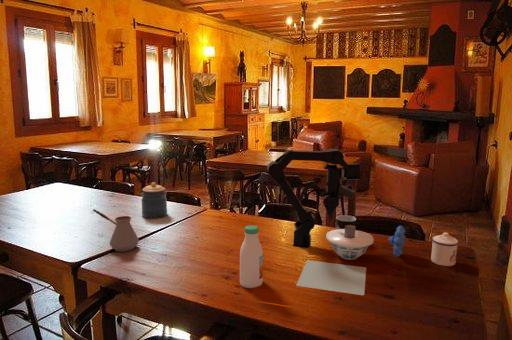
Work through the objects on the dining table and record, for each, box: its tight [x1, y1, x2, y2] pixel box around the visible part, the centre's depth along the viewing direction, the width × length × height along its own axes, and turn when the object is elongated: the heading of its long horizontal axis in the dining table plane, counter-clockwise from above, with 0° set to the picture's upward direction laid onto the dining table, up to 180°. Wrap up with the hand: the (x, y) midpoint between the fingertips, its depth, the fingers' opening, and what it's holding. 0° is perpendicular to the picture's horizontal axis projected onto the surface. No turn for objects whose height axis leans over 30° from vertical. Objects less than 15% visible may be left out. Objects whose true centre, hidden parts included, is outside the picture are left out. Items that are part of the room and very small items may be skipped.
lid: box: [325, 225, 374, 248], centre depth 159 cm, size 18×18×5 cm
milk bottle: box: [239, 225, 264, 289], centre depth 136 cm, size 8×8×20 cm
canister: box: [140, 181, 168, 219], centre depth 212 cm, size 13×13×18 cm
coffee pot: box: [90, 208, 140, 253], centre depth 169 cm, size 21×12×15 cm, turn 69°
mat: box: [295, 259, 367, 296], centre depth 143 cm, size 22×22×1 cm
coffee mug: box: [335, 214, 357, 230], centre depth 181 cm, size 12×9×10 cm
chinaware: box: [330, 242, 369, 261], centre depth 160 cm, size 15×15×8 cm
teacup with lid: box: [430, 232, 459, 267], centre depth 158 cm, size 12×9×12 cm
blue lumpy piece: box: [387, 225, 407, 258], centre depth 163 cm, size 12×7×12 cm, turn 152°
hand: (332, 216), depth 171 cm, fingers open, 9 cm apart
